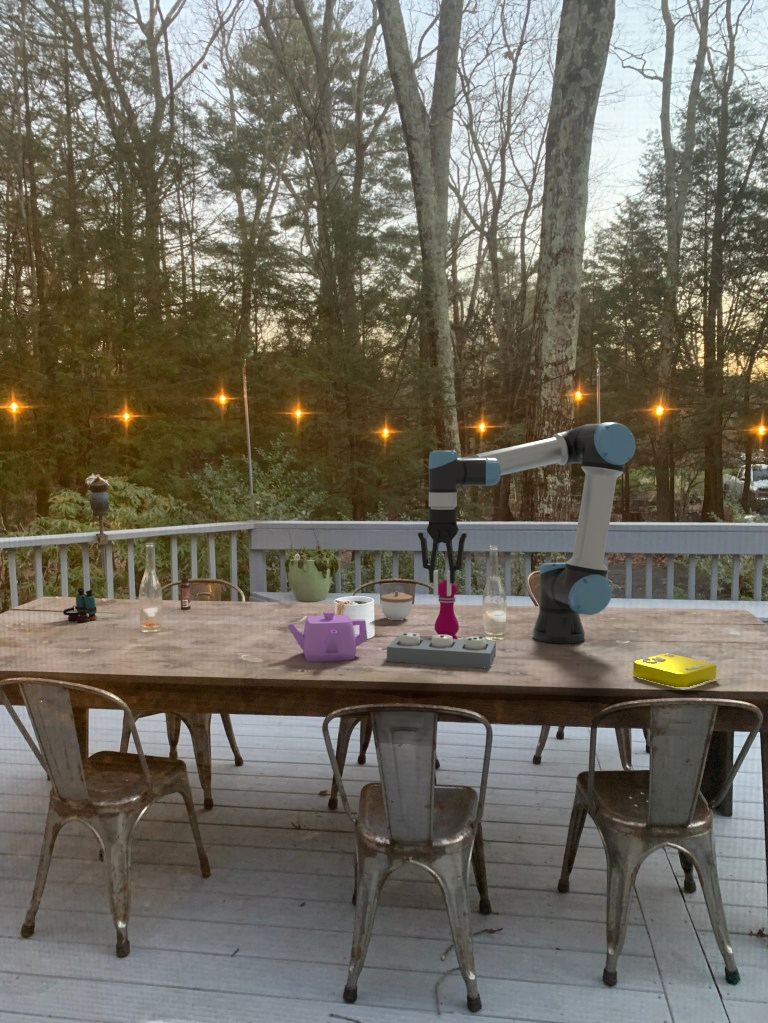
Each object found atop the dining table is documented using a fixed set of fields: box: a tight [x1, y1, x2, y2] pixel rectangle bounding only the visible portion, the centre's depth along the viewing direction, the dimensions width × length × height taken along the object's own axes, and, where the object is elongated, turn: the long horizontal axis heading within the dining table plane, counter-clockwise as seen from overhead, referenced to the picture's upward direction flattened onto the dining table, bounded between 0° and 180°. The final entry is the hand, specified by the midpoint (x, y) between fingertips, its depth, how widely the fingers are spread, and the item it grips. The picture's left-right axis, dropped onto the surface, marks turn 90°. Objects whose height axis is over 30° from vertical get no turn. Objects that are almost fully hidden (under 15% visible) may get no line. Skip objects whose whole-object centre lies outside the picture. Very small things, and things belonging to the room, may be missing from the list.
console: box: [386, 635, 497, 669], centre depth 207 cm, size 28×13×4 cm, turn 76°
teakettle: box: [286, 610, 368, 663], centre depth 210 cm, size 17×17×12 cm
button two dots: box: [399, 632, 421, 646], centre depth 209 cm, size 6×6×4 cm
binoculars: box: [63, 587, 98, 624], centre depth 255 cm, size 9×11×10 cm
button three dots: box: [464, 635, 487, 650], centre depth 204 cm, size 6×6×4 cm
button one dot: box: [431, 634, 453, 648], centre depth 207 cm, size 6×6×4 cm
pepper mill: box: [434, 574, 460, 639], centre depth 225 cm, size 7×7×20 cm
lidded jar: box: [380, 590, 413, 621], centre depth 258 cm, size 11×11×9 cm
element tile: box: [632, 652, 717, 687], centre depth 188 cm, size 15×15×5 cm
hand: (442, 594), depth 206 cm, fingers open, 3 cm apart
